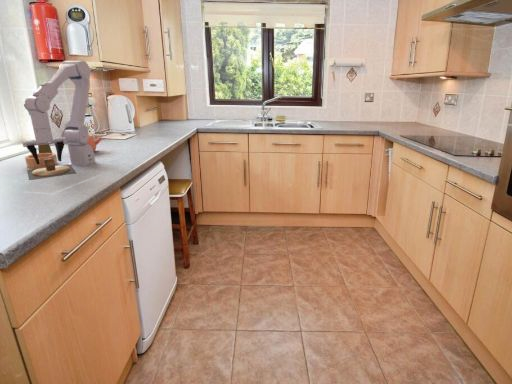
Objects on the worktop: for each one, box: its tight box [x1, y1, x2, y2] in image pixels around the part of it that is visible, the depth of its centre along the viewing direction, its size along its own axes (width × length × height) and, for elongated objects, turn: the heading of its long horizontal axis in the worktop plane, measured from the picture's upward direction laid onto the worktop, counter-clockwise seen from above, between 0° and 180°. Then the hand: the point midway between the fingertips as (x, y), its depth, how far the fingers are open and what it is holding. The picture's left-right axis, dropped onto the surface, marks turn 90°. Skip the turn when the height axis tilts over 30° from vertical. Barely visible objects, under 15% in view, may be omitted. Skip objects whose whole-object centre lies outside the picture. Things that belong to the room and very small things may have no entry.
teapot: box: [87, 133, 103, 152], centre depth 167 cm, size 14×12×10 cm
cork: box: [37, 142, 53, 154], centre depth 160 cm, size 6×6×11 cm
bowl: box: [24, 152, 58, 169], centre depth 142 cm, size 11×11×4 cm
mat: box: [26, 164, 77, 181], centre depth 133 cm, size 16×17×1 cm
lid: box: [32, 158, 70, 176], centre depth 132 cm, size 13×13×5 cm
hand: (49, 162), depth 131 cm, fingers open, 7 cm apart
